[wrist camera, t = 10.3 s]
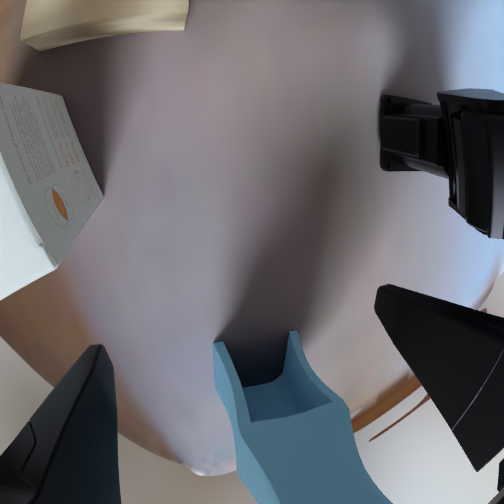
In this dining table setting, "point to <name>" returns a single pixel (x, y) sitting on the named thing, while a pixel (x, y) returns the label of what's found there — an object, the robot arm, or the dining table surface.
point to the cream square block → (97, 19)
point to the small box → (39, 185)
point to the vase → (293, 435)
